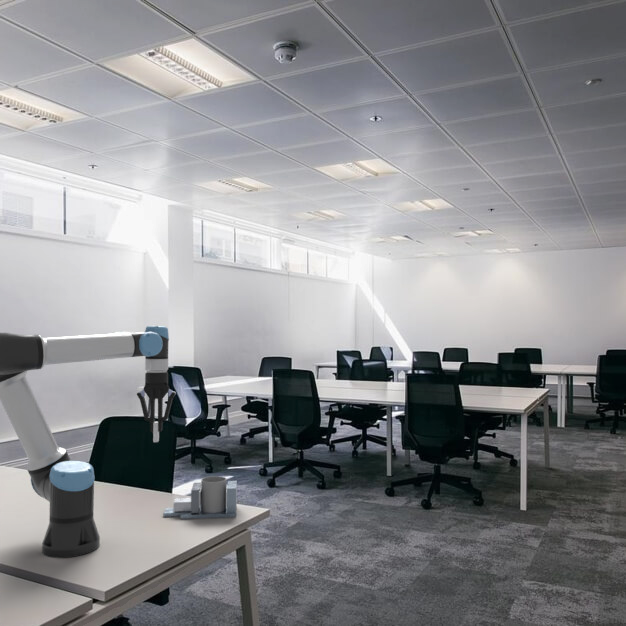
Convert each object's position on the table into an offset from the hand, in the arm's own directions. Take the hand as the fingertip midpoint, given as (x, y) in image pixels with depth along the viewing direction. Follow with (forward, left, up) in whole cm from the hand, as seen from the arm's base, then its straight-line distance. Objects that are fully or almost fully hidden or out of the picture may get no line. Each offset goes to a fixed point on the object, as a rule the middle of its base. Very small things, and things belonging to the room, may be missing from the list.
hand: (156, 441), depth 199 cm
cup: (0, -19, -23) cm, 30 cm away
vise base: (0, -15, -24) cm, 29 cm away
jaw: (0, -11, -23) cm, 25 cm away
